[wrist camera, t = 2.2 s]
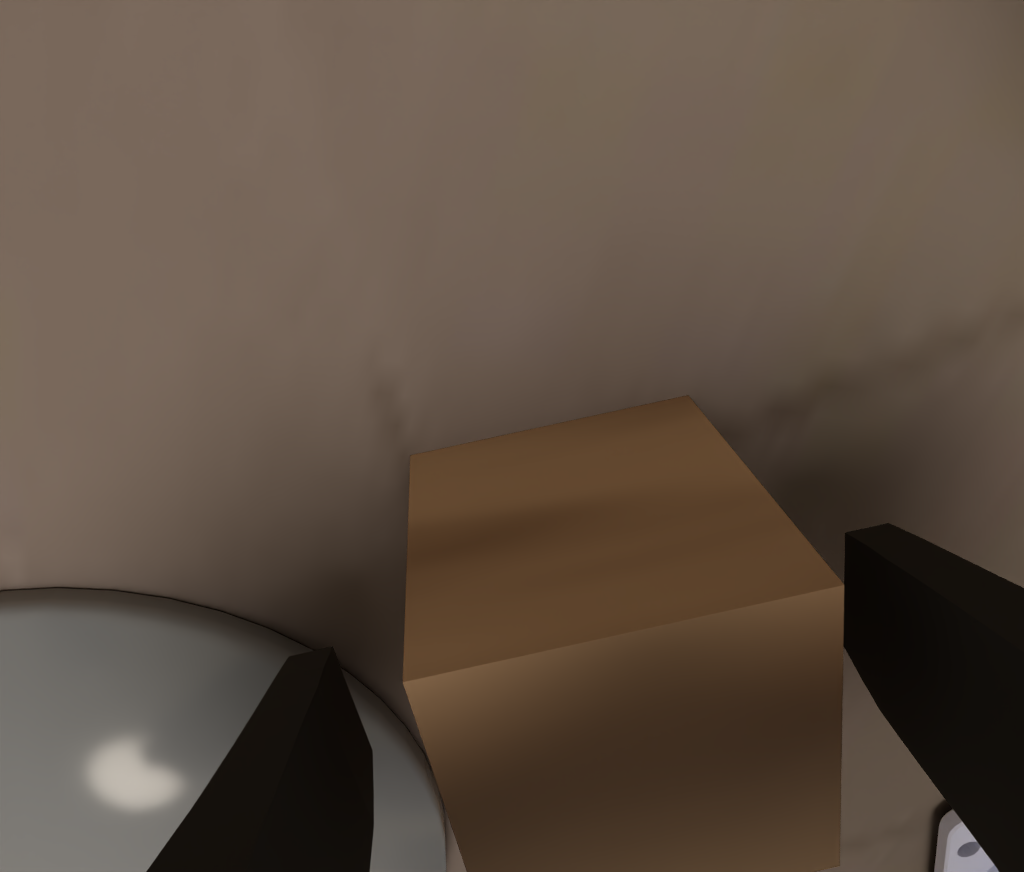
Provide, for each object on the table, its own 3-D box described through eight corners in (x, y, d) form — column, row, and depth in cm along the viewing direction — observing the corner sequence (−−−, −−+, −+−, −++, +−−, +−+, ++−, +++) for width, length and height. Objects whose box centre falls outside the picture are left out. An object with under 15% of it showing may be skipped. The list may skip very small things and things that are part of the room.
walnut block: (706, 611, 14) (839, 865, 10) (469, 664, 14) (492, 944, 9) (687, 393, 12) (844, 585, 8) (410, 453, 12) (402, 682, 7)
